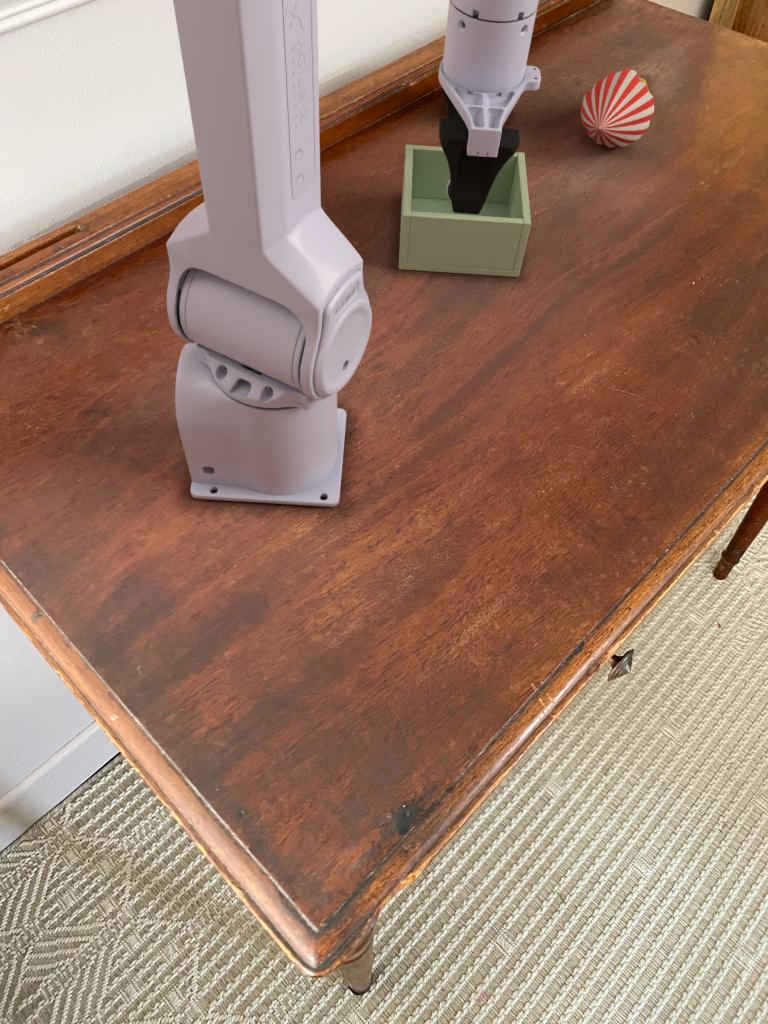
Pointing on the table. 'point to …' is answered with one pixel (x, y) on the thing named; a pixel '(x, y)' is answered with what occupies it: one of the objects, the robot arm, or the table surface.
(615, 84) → the striped christmas ornament
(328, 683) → the table surface
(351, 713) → the table surface
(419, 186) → the bin
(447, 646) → the table surface
